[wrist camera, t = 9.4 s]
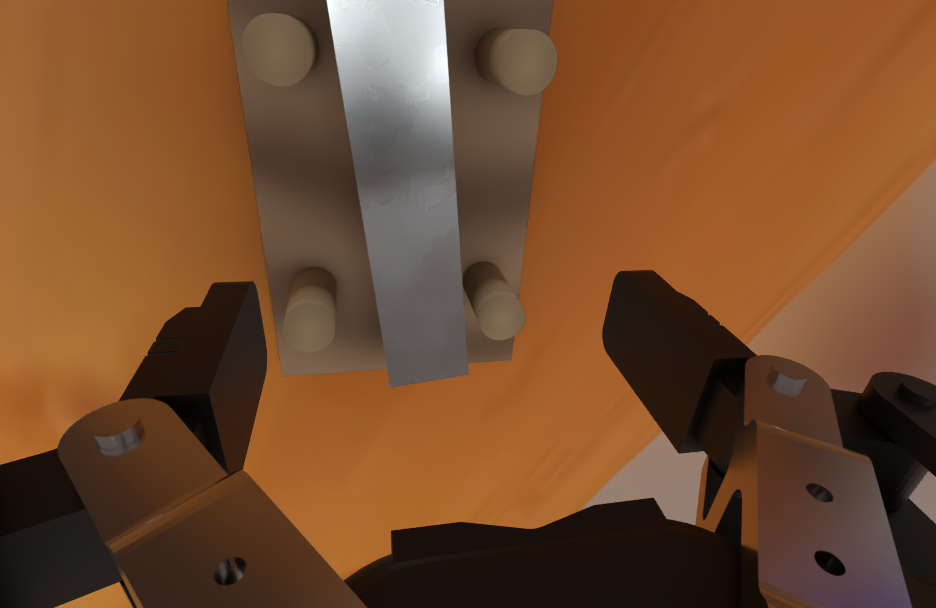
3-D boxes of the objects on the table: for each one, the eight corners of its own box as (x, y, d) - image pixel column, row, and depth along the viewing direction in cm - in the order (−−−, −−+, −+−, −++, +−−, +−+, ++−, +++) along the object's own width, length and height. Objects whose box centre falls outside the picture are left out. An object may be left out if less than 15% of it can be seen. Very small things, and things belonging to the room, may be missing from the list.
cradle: (215, -127, 17) (167, -178, 13) (552, -88, 19) (612, -121, 15) (285, 362, 27) (271, 431, 22) (505, 347, 29) (533, 407, 25)
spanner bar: (323, -42, 18) (317, -57, 14) (422, -47, 18) (439, -62, 15) (385, 338, 26) (390, 387, 22) (453, 327, 26) (468, 374, 23)
